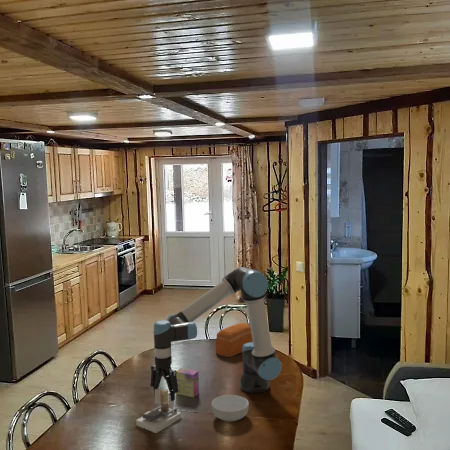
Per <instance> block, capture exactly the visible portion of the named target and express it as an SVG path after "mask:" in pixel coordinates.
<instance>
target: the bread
mask: <svg viewBox="0 0 450 450" xmlns="http://www.w3.org/2000/svg"><path fill="white" fill-rule="evenodd" d="M250 342H253V339H252V334H251V328H250V323H249V324H248V323H246V322H240V323H236V324H233V325H230V326H227V327H225V328H222V329H221V330H219V331H218V332H217V334H216V338H215V354H217V355H219V356H222V357H226V358H231V357H234V356H237V355H238V354H241V353H242V350H243V345H244V344H246V343H250ZM242 354H243V353H242Z"/></svg>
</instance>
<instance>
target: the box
mask: <svg viewBox="0 0 450 450" xmlns="http://www.w3.org/2000/svg"><path fill="white" fill-rule="evenodd" d="M176 371H177V373H176V377H177V384H178V392H177V393H175V395H180V396H184V397H190V398H195V397H196V396H197V395H199V394H198V393H199V391H200V386H199V385H200V383H199V381H200V380H199V376H200V375H199V371H198V370H193V369H188V368H182V367H180V368H179V369H178V370H176Z"/></svg>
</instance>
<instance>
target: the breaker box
mask: <svg viewBox="0 0 450 450" xmlns="http://www.w3.org/2000/svg"><path fill="white" fill-rule="evenodd" d="M178 409H179V408H178V407H177V406H174V407H172V408H169V411H167V412H166V413H165V412H162V411H161V405H159V406H157V407H155V408H153V409H152V410H151V411H157V412H162V415H164V416H161V417H159V418H158V419H156V420H153V419H144V418H143V417H142V416H141V417H139V418H137V419H136V426H137V427H140V428H142V429H144V428H145V430H147V431H150V432H152V433H155V434H157V433H159V432H161V431H162V430H163V429H166V428H167V427H169V426H170V425H172V424H173V423H175V422H177V421H179V420H180V419H182V412H180V411H178ZM169 413H170V414H169ZM168 414H169V415H168Z"/></svg>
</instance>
